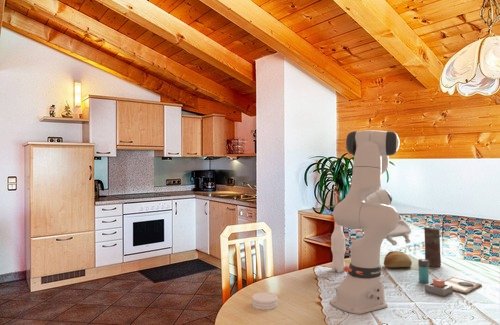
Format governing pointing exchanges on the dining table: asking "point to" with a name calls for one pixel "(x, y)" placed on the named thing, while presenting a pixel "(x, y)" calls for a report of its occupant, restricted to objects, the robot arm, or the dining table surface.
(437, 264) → the candle
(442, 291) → the button housing
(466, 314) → the dining table surface
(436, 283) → the button
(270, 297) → the coaster
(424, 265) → the teal spice jar
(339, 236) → the water bottle
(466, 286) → the clipboard
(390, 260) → the bread roll
